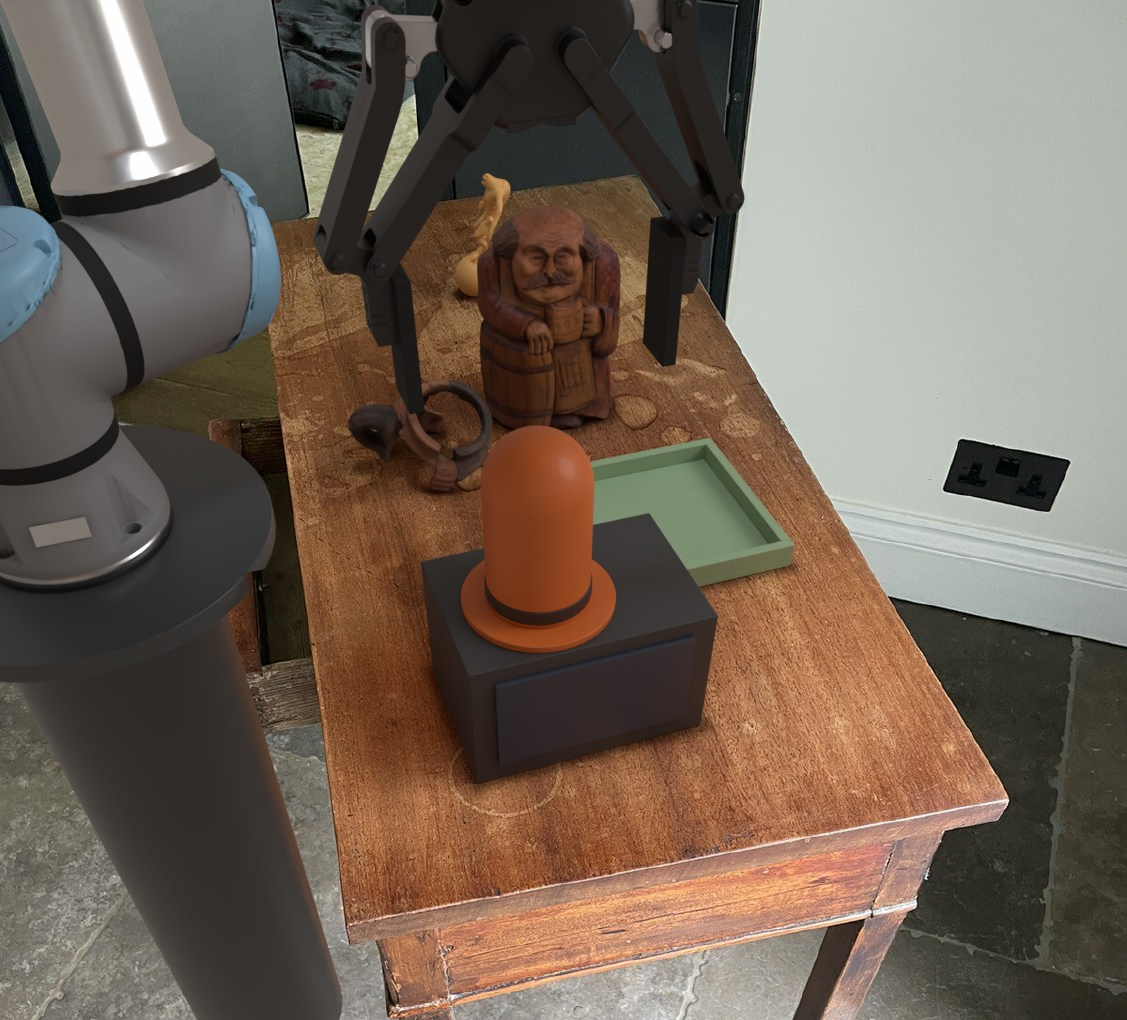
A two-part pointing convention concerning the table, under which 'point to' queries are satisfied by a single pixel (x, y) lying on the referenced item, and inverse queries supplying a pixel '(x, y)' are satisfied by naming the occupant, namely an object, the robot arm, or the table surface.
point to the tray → (694, 509)
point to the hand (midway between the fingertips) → (538, 376)
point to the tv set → (576, 661)
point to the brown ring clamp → (412, 426)
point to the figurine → (482, 232)
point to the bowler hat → (538, 547)
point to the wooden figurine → (547, 319)
